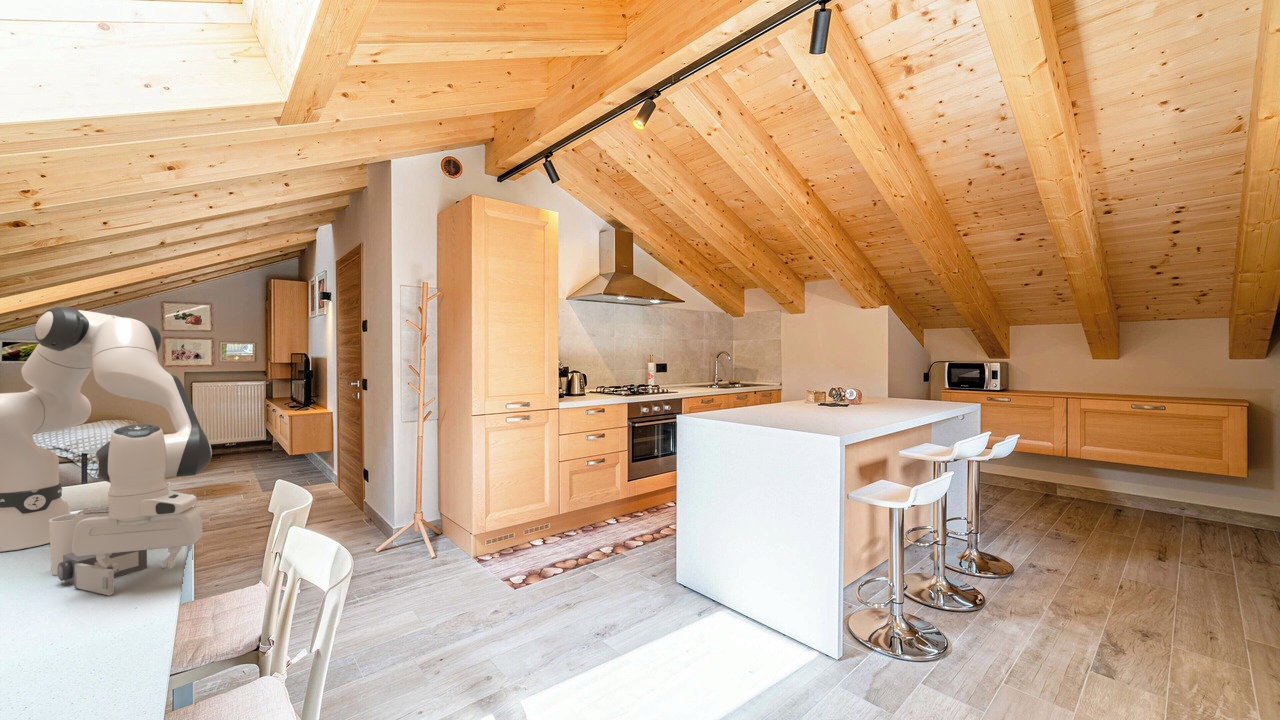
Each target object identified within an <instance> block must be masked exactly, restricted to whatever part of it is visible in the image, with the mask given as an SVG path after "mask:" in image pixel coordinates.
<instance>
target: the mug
mask: <svg viewBox="0 0 1280 720" xmlns="http://www.w3.org/2000/svg"><path fill="white" fill-rule="evenodd" d="M77 513H78V512H75V513H71V514H68V515H63V516H59V517H55V518H52V519H50V520H49V521H50V543H49V544H50V545H49V547H50V567H51V575H52V576H58V564H59V563H60V562H63V555H65V554H69V553H73V552H72V542H73V536H74V531H75V527H74V517H75V515H76V514H77ZM81 514H84V513H81ZM58 577H59V576H58Z"/></svg>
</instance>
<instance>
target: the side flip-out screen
mask: <svg viewBox="0 0 1280 720" xmlns="http://www.w3.org/2000/svg"><path fill="white" fill-rule="evenodd" d="M114 579H115V577H114V570H112V569H107V568H102V567H98V566H93V565H88V564H83V563H77V564H75V586H74V589H79V590H85V591H88V592H92V593H97V594H101V595H106V596H111V595H114V594H115V591H114V590H115V586H114V585H115V584H114V583H115V581H114Z"/></svg>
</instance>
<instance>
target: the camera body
mask: <svg viewBox="0 0 1280 720" xmlns="http://www.w3.org/2000/svg"><path fill="white" fill-rule="evenodd" d="M109 557H110V559H111V560H112V562H113V563H119V566H118V568H119V570H118V572H117V573H115V574H114V578H116V577H120V576H123V575H124V576H125V575H127V574H131V573H134V572H139V571H142V570H145V569H147V568H148V550H140V551H129V552H119V553H112V555H110V556H109ZM77 563H83V564H88V565H93V566H98V567H102V566H101V564H100V563H99V562H98V561H97V560H96V555H87V556H76V555H75V554H74V553H69V554H65V555H63V562H60V563H59V564H58V580H60V581H62V582H63V581H64V582H66V583H68V584H70V585H72V586H74V587H75V564H77ZM102 568H104V567H102Z"/></svg>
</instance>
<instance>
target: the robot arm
mask: <svg viewBox="0 0 1280 720" xmlns="http://www.w3.org/2000/svg"><path fill="white" fill-rule="evenodd" d="M34 336H35V339H36V342H38V344H37V346H36V347H35V348H34V350H33V351H32V352H31V354H30V355H29V356H28V358H27V359H26V361H25V363H24V364H23V365H22V366H21V370H20V371H21V376H22V378H23V380H24V381H25V382H26V383H27V384H28V385H29V386H31V387H32V388H31V389H30V390H28V391H23V392H22V391H21V392H4V393H3V392H2V393H1V392H0V552H7V551H8V552H9V551H18V550H22V549H29V548H33V547H38V546H43V545H47V544H50V521H49V520H50V519H52V518H55V517H59V516H63V515H68V514H72V513H71V504H70V503H69V502H68V501H65V500H63V499H62V495H63V494H62V493H63V486H62V483H60V459H59V456H58V455H57V454H56V452H54V451H52V450H50V449H47V448H44V447H41V446H39V445H38V444H37V443H36V441H35V439H34V437H33V436H34V435H33V434H42V433H51V432H60V431H63V430H67V429H71V428H75V427H77V426H81V425H83V424H85V422H87V420H88V419H89V418H90V416H91V413H92V404H91V402H90V400H89V398H88V397H87V396H85V395H84V394H83V393H82V392H81V391H82V387H83V384H84V382H85V380H86V379H87V377H88V376H89V374H90V373H91V371H92V373H93V376H94V380H95V382H96V383H97V385H98V386H99V387H101V388H102V389H104V390H105V391H107V392H108V393H111V394H113V395H116V396H118V397H123V398H125V399H126V398H127V399H134V400H139V401H145V402H148V403H153V404H155V405H159V406H161V407H163V408H164V409H165V410H166V411H167V412H168V414H169V417H170V420H171V422H172V424H173V427H174V430H175V433H168V434H164V431H163V429H162V427H160V426H158V425H155V424H146V423H144V424H143V423H138V424H137V423H136V424H130V425H129V424H128V425H125V426H121V427H118V428H115V429H114V430H112V432H111V434H110V438H109V439H110V440H109V441H108V442H106V443H105V444H104V445H102V446H101V447H100V448H99V449H98V450H96V452H95V454H96V457H97V463H98V464H97V475H96V477H97V478H99V479H101V480H103V481H105V482H107V483H110V487H109V490H108V492H107V494H108V496H107V498H108V501H107V502H108V503H107V504H108V506H100V507H86V508H83V509H82V510H80V511H78V512H76V513H77V514H76V515H75V517H74V527H75V531H74V536H73V542H72V552H73V553H74V554H75V555H76V556H87V555H96V560H97V561H98V562H99V563H100V564H101V566H102V567H104V568H107V569H112V570H114V574H115V573H117V572H118V570H119V568H118V566H119V563H113V562H112V560H111V559H110V557H109V556H110V555H112V553H119V552H129V551H140V550H147V551H149V550H160V549H167V552H168V553H170V554H169V556H168V557H165V559H163V560H162V561H161V569H162V570H167V569H172V568H174V567H175V565H176V557H177V556H178V555H179V552H181V550H182V547H189V546H190V547H191V546H192V545H194V544H196V543H198V541H199V540H200V539H201V538H202V537H203V523H202V522H203V521H202V515H201V513H200V510H198V509H197V507H195V505H196V504H197V496H196V495H194V494H189V493H183V492H177V491H174V490H170V489H168V488H169V487H168V485H169V484H168V482H167V480H166V478H171V477H191V476H196V475H198V474H199V473H200V472H202V471H203V470H204V469H206V468H207V467H208V466H209V465H210V463H211V462H212V456H213V455H212V453H213V451H212V446H211V443H210V441H209V440H208V437H207V435H206V433H205V432H204V430H203V428H202V427H201V424H200V422H199V419H198V418H197V415H196V413H195V410H194V407H193V405H192V402H191V400H190V398H189V396H188V393H187V391H186V389H185V387H184V385H183V383H182V382H181V380H180V379H179V377H178V376H176V375H174V374H171V373H169V372H168V371H167V370H166V369H164V368H163V366H162V365H161V364H160V362H159V357H158V356H159V355H158V352H159V351H160V348H161V344H162V336H161V333H160V331H159V329H158V328H157V327H155V326H153V325H150V324H148V323H145V322H143V321H141V320H138V319H134V318H131V317H121V316H118V315H113V314H106V313H103V312H95V311H90V310H89V311H88V310H82V309H77V308H75V307H69V306H68V307H67V306H54V307H51V308H49V309H47V310H46V311H44V312H43V313H42V314H41V316H40V317H39V318H38V320H37V322H36V324H35V329H34ZM81 513H84V514H81Z"/></svg>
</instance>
